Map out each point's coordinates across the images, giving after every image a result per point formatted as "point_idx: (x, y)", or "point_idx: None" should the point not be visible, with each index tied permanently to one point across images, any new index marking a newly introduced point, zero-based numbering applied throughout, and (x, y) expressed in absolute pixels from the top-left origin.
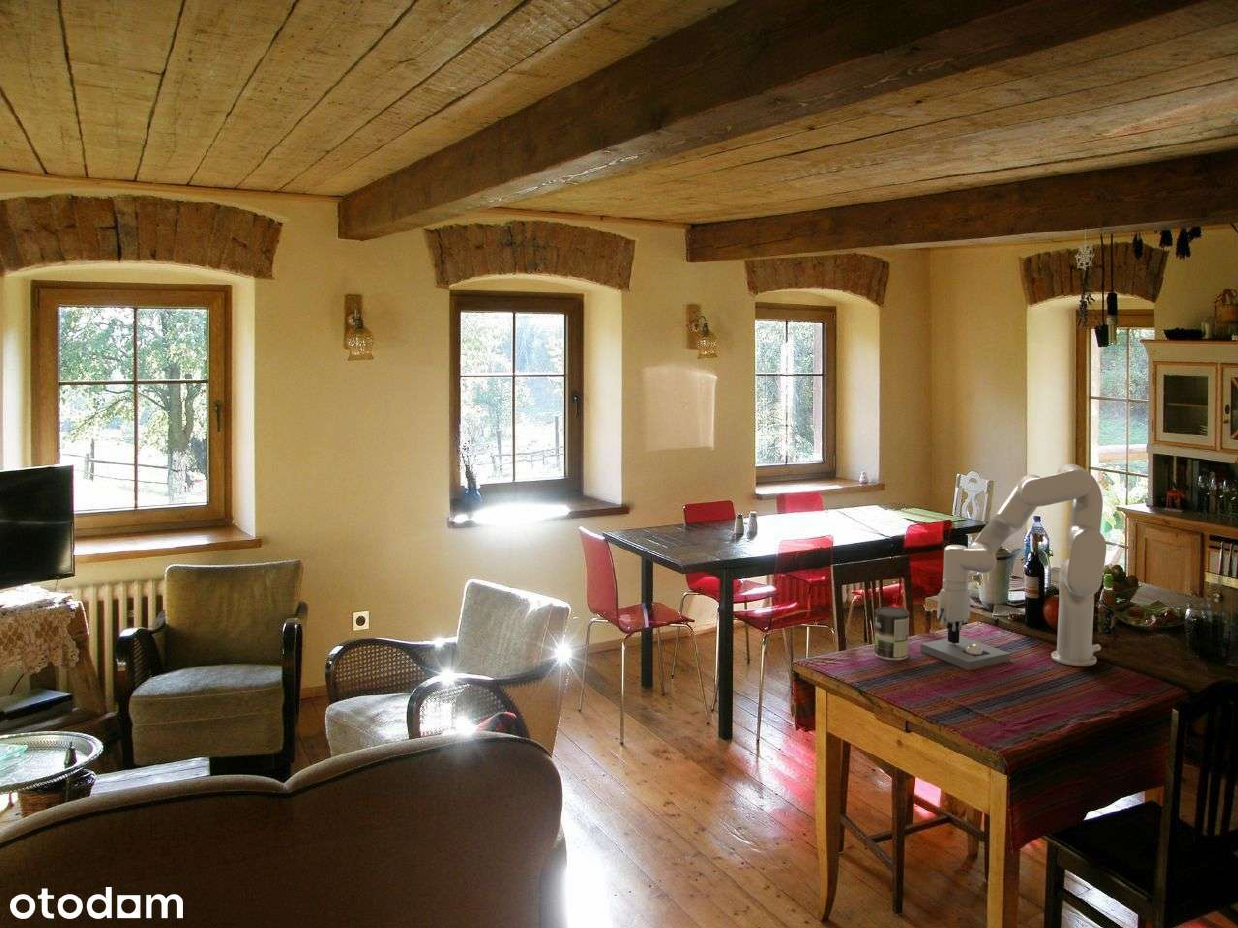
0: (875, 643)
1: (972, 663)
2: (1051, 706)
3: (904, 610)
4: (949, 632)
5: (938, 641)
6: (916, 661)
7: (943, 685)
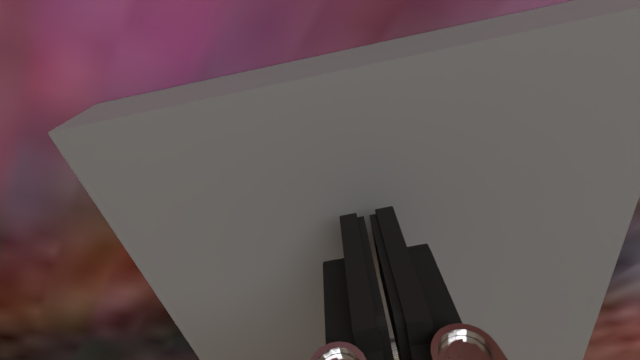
0: None
1: None
2: None
3: None
4: (329, 339)
5: (279, 124)
6: (19, 275)
7: None
